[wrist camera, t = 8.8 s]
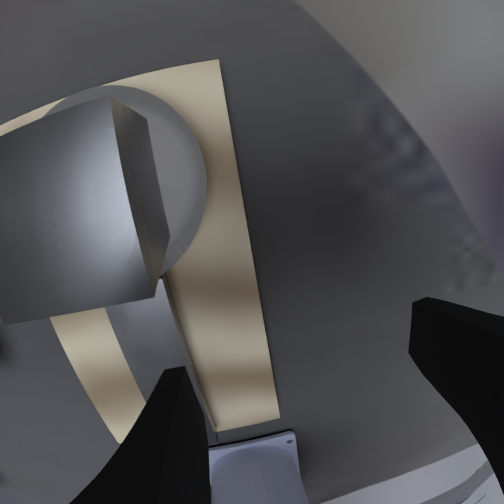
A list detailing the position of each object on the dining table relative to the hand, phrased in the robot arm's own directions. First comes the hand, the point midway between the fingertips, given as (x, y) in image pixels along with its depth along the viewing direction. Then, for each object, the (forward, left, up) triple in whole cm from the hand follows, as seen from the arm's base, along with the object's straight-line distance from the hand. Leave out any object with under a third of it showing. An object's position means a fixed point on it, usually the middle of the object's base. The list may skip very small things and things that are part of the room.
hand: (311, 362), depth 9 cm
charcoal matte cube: (+6, +6, -6) cm, 10 cm away
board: (0, +6, -9) cm, 11 cm away
